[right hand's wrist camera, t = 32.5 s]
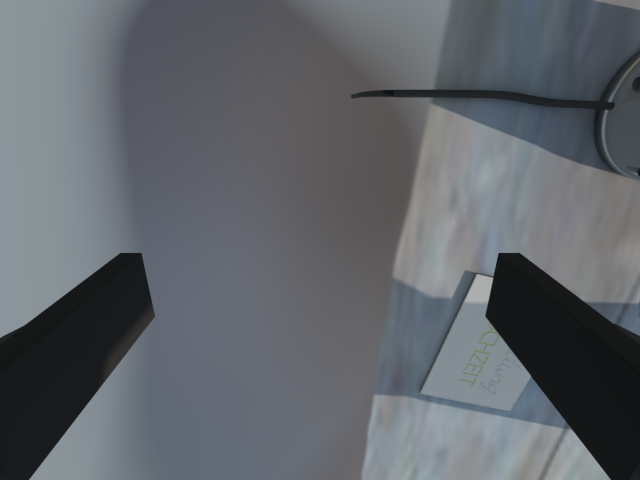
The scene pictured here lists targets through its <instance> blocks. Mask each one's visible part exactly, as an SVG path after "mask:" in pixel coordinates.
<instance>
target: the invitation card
mask: <svg viewBox="0 0 640 480" xmlns="http://www.w3.org/2000/svg"><path fill="white" fill-rule="evenodd" d="M492 282H493V277H489V276H485V275H481V274H476V276H475V278H474V280H473V282H472V285H471V287H470V289H469V291H468V293H467V295H466V297H465V299H464V301H463V303H462V305H461V308H460V310H459V312H458V314H457V316H456V318H455V320H454V322H453V324H452V326H451V329H450V331H449V333H448V335H447V337H446V339H445V341H444V343H443V345H442V347H441V349H440V352H439V354H438V356H437V358H436V360H435V362H434V364H433V366H432V368H431V370H430V373H429V375H428V377H427V379H426V381H425V383H424V385H423V387H422V389H421V391H420V394H425V395H430V396H435V397H440V398H445V399H450V400H455V401H460V402H465V403H470V404H475V405H480V406H485V407H490V408H495V409H500V410H505V411H510V410H511V409H512V407H513V405H514V404H515V402H516V401H517V399H518V397H519V396H520V394H521V393H522V391H523V389H524V388H525V386H526V385H527V383H528V381H529V380H530V378H531V375H530V374H529V373H528V371H527V370H526V369H525V368H524V366H523V365H522V364H521V362H520V361H519V360H518V358H517V357H516V356H515V355H514V353H513V352H512V351H511V349H510V348H509V347H508V345H507V344H506V343H505V342H504V340H503V339H502V338H501V336H500V335H499V334H498V332H497V331H496V330H495V329H494V327H493V326H492V325H491V323H490V322H489V321H488V320H487V318H486V317H485V314H486V310H487V305H488V300H489V296H490V291H491V286H492Z"/></svg>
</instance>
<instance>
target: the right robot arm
mask: <svg viewBox="0 0 640 480" xmlns="http://www.w3.org/2000/svg"><path fill="white" fill-rule="evenodd" d="M360 97H451V98H496V99H507V100H514V101H520V102H525V103H530V104H536V105H543V106H551V107H566V108H586V109H598V111H597V115H596V121H595V141H596V145H597V149H598V152H599V154H600V156H601V158H602V159H603V161H604V162H605V163H606V165H607V166H608V167H609V168H611V169H612V170H613V171H615V172H616V173H618V174H620V175H622V176H625V177H629V178H632V179H637V180H640V51H639V52H638V53H636V54H635V55H634V56H633V57H632V58H631V59H630V60H629V61H628V62H627V63H626V64H625V65H624V66H623V67H622V68H621V69H620V70H619V72H618V73H617V74H616V75H615V77H614V78H613V80H612V81H611V83H610V84H609V86H608V87H607V89H606V91H605V93H604V95H603V97H602V100H601V102H597V101H577V100H557V99H548V98H541V97H535V96H530V95H525V94H519V93H512V92H503V91H488V90H376V91H364V92H359V93H356V94H352V95H351V98H360ZM638 315H639V318H640V303H639V306H638ZM154 317H155V314H154V310H153V305H152V301H151V296H150V291H149V287H148V282H147V277H146V273H145V268H144V263H143V258H142V254H141V253H120V254H119V255H117V256H116V257H115V258H113V259H112V260H111V261H109V262H108V263H107V264H105V265H104V266H103V267H101V268H100V269H99V270H97V271H96V272H95V273H93V274H92V275H91V276H90V277H88V278H87V279H86V280H84V281H83V282H82V283H80V284H79V285H78V286H76V287H75V288H74V289H72V290H71V291H70V292H68V293H67V294H66V295H64V296H63V297H62V298H60V299H59V300H58V301H56V302H55V303H54V304H52V305H51V306H50V307H49V308H47V309H46V310H44V311H43V312H42V313H41V314H39V315H38V316H37V317H35V318H34V319H33V320H31V321H30V322H29V323H27V324H26V325H25V326H23V327H21V328H19V329H17V330H15V331H13V332H11V333H9V334H7V335H5V336H3V337H1V338H0V480H29V479H30V478H31V476H32V475H33V474H34V473H35V471H36V470H37V469H38V467H39V466H40V465H41V463H42V462H43V461H44V460H45V458H46V457H47V456H48V454H49V453H50V452H51V450H52V449H53V448H54V447H55V445H56V444H57V443H58V441H59V440H60V439H61V437H62V436H63V435H64V434H65V432H66V431H67V430H68V428H69V427H70V426H71V425H72V423H73V422H74V421H75V419H76V418H77V417H78V415H79V414H80V413H81V412H82V410H83V409H84V408H85V406H86V405H87V404H88V403H89V401H90V400H91V399H92V397H93V396H94V395H95V393H96V392H97V391H98V389H99V388H100V387H101V386H102V384H103V383H104V382H105V380H106V379H107V378H108V377H109V375H110V374H111V373H112V371H113V370H114V369H115V367H116V366H117V365H118V364H119V362H120V361H121V360H122V358H123V357H124V356H125V355H126V353H127V352H128V351H129V349H130V348H131V347H132V345H133V344H134V343H135V342H136V340H137V339H138V338H139V336H140V335H141V334H142V332H143V331H144V330H145V328H146V327H147V326H148V325H149V323H150V322H151V321H152V320H153V318H154ZM485 317H486V318H487V320H488V321H489V322H490V323H491V325H492V326H493V327H494V329H495V330H496V331H497V332H498V334H499V335H500V336H501V338H502V339H503V340H504V342H505V343H506V344H507V345H508V347H509V348H510V349H511V351H512V352H513V353H514V355H515V356H516V357H517V358H518V360H519V361H520V362H521V364H522V365H523V366H524V368H525V369H526V370H527V371H528V373H529V374H530V375H531V377H532V378H533V379H534V380H535V382H536V383H537V384H538V386H539V387H540V388H541V390H542V391H543V392H544V393H545V395H546V396H547V397H548V399H549V400H550V401H551V403H552V404H553V405H554V406H555V408H556V409H557V410H558V412H559V413H560V414H561V415H562V417H563V418H564V419H565V421H566V422H567V423H568V425H569V426H570V427H571V428H572V430H573V431H574V432H575V434H576V435H577V436H578V438H579V439H580V440H581V441H582V443H583V444H584V445H585V447H586V448H587V449H588V451H589V452H590V453H591V454H592V456H593V457H594V458H595V460H596V461H597V462H598V463H599V465H600V466H601V467H602V469H603V470H604V471H605V473H606V474H607V475H608V476H609V478H610V479H611V480H640V336H638V335H636V334H634V333H632V332H630V331H628V330H626V329H624V328H622V327H620V326H618V325H616V324H613V323H611V322H610V321H609V320H607V319H606V318H605V317H603V316H602V315H601V314H599V313H598V312H597V311H596V310H594V309H593V308H592V307H590V306H589V305H588V304H586V303H585V302H584V301H582V300H581V299H580V298H578V297H577V296H576V295H574V294H573V293H572V292H570V291H569V290H568V289H566V288H565V287H564V286H562V285H561V284H560V283H558V282H557V281H556V280H554V279H553V278H552V277H551V276H549V275H548V274H547V273H545V272H544V271H543V270H541V269H540V268H539V267H537V266H536V265H535V264H533V263H532V262H531V261H529V260H528V259H527V258H525V257H524V256H523V255H521V254H520V253H499V254H498V258H497V263H496V268H495V272H494V277H493V282H492V286H491V291H490V296H489V300H488V305H487V310H486V314H485Z"/></svg>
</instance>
